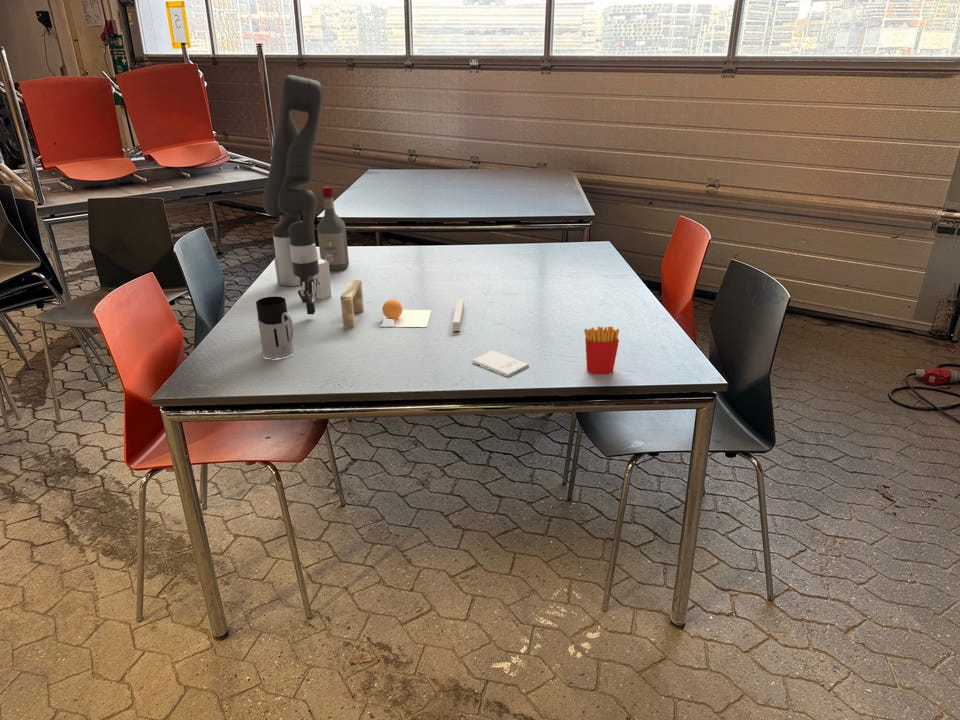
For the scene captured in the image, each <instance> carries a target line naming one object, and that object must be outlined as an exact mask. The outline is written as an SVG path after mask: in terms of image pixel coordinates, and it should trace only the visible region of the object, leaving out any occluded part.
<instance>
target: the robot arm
mask: <svg viewBox="0 0 960 720" xmlns="http://www.w3.org/2000/svg"><path fill="white" fill-rule="evenodd" d="M280 91H281V92H280V99H279V110H278V111H279V112H278V119H277V126H276V131H275V134H274V135H275V137H274V140H273V146H272V151H271V152H272V153H271V161H270V165H269V172H268V176H267V178H266V179H267V180H266V183H265V185H264V188H263V189H264V190H263V193H262V206H263V209H264V211H265V213H266V214H267V215H268V216H270V217H279V216H280V217H281V216H284V217H283V219H282V220H281V221H279V222H277V223H276V224H275V225H273V226H272V230H271V231H272V238H273V244H274V250H275V252H274V253H275V257H274V260H273V261H274V267H275V274H276V280H277V285H278V286H284V287H297V286H299V288H300V289H299V290H298V291H297V294H298V296H299V298H300V300H301V302H302V304H305V307H306V314H307V315H315V313H316V303H315V301H316V293H317V281H318V280H317V278H314V276H315V275H317V274H318V273H319V265H318V249H317V246H316V239H315V231H314V230H315V229H314V228H315V218H316V217H315V216H316V210H317V204H318V201H317V196H316V194H315V192H313V191H312V190H310V189H305V188H303V189H298V187H299V186H301V185H305V184H308V183H310V182H312V176H313V159H314V157H313V156H314V148H315V144H316V137H317V133H318V127H319V121H320V115H321V107H322V99H323V88H322V84H321V82H319V81H318V80H316V79H315V80H314V79H311V78H306V77H303V76H297V75H292V74H287V75H286V76H285V77H284V78H283V82H282V84H281V90H280ZM292 111H297V112H301V113H305V114H308V117H307V120H306V122H305V125H304V126H303V127H302V129H301V130H300V131H299V128H298V127H297V125H296V123H295V121H294V118H293V115H292V114H293V113H292ZM301 216H303V217H302V220H301Z"/></svg>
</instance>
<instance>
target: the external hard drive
mask: <svg viewBox="0 0 960 720" xmlns="http://www.w3.org/2000/svg"><path fill="white" fill-rule="evenodd" d="M472 362H474V363H477V364H479V365H482V366H484V367H486V368H489V369H492V370H494V371H496V372H499V373H501V374H503V375H502V376H504V375H506V376H509V377H511V376H513V375H515V374H517V373H518V371H519V372H521V371H523V370H525V369H527V368H529V366H530V364H528V363H526V362H523V361H521V360H518V359H516V358H513V357H510V356H508V355H504V354H503V353H500V352H497V351H495V350H490V351H487V352H486V353H484V354H482V355H480V356H478V357H475V358H473V359H472V360H471V363H472ZM484 367H483V368H484ZM486 368H485V369H486ZM524 368H525V369H524ZM489 369H488V370H489ZM522 369H523V370H522ZM520 370H521V371H520ZM494 371H493V372H494ZM496 372H495V373H496ZM516 372H517V373H516ZM499 373H498V374H499ZM514 373H515V374H514ZM501 374H500V375H501ZM512 374H513V375H512ZM510 375H511V376H510ZM506 376H505V377H506Z"/></svg>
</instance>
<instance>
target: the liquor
mask: <svg viewBox="0 0 960 720" xmlns="http://www.w3.org/2000/svg"><path fill="white" fill-rule="evenodd" d="M322 197H323V203H324V205H323V206H324V212H323V213H324V215H323V217H322V218H321V220H320V221H319V222H318V224H317V226H316V231H317V238H318V239H317V240H318V247H319V258H320V259H322V260H325V261H327V262H329V270H330V273H340V271H341V272H344V270H345V271H346V270H348V267H349V264H350V261H349V251H348V240H347V239H348V238H347V227H346V223H345V221H344V220H343V219H342V218H341V217H339V216H338V214H336V211H335V205H334V203H335V202H334V190H333V186H330V185H329V186H328V185H327V186H326V185H325V186H322Z"/></svg>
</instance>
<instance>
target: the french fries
mask: <svg viewBox="0 0 960 720" xmlns="http://www.w3.org/2000/svg"><path fill="white" fill-rule="evenodd" d="M619 332H620V329H619V328H616V329H614V326H608V327H603V326H597V329H596V328H594V327H590V328H585V329H584V335H585V337H584V338H585V340H584V341H585V359H586V371H588V372H589V373H588V372H587V373H588V374H590V373H592V374H591V375H610V373H611V374H612V372H614V369H615V364H616V357H617V353H618V349H619V348H618V347H619V343H620V340H619V338H618V337H619Z"/></svg>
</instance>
